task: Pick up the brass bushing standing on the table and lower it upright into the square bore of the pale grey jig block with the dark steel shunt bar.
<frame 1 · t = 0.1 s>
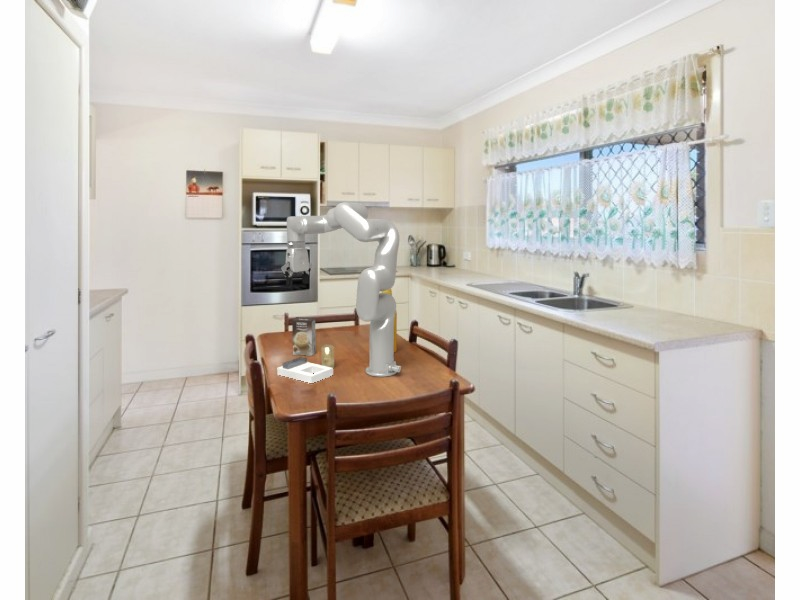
hand: (297, 284, 210), 31 cm above the table, tool pointing down, fingers open, 9 cm apart
jig: (305, 375, 187), on the table
coffee box: (304, 354, 215), on the table
bushing: (328, 367, 196), on the table
beer bottle: (386, 351, 220), on the table
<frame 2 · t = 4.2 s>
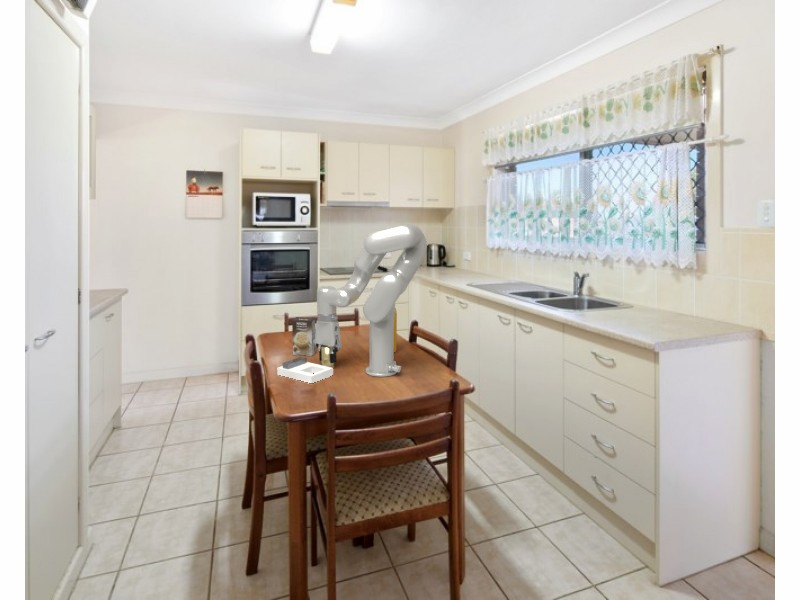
hand: (327, 360, 195), 3 cm above the table, tool pointing down, fingers closed on bushing, 5 cm apart
bushing: (328, 367, 196), on the table, touching gripper
everything else where it was.
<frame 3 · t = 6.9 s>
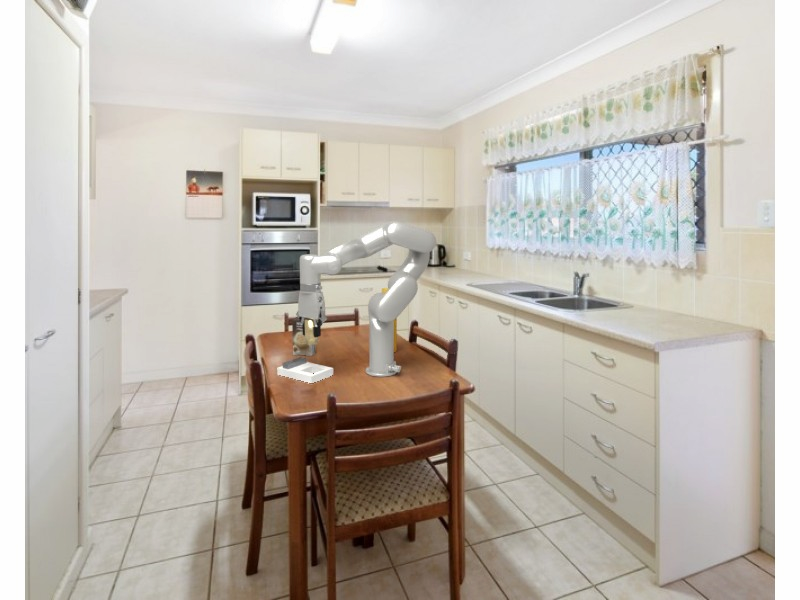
hand: (311, 335, 181), 17 cm above the table, tool pointing down, fingers closed on bushing, 5 cm apart
bushing: (311, 342, 182), point 14 cm above the table, touching gripper
everything else where it was.
when the fingers open (4 cm above the table, at t = 9.8 s): bushing drops 1 cm, resting in jig.
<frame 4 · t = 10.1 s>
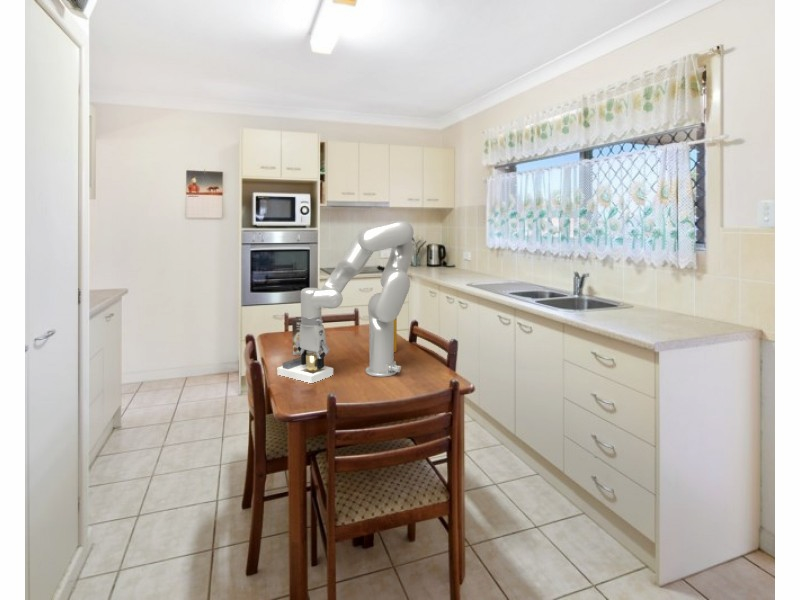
hand: (312, 365, 184), 5 cm above the table, tool pointing down, fingers open, 7 cm apart
bushing: (313, 377, 184), resting in jig
everything else where it was.
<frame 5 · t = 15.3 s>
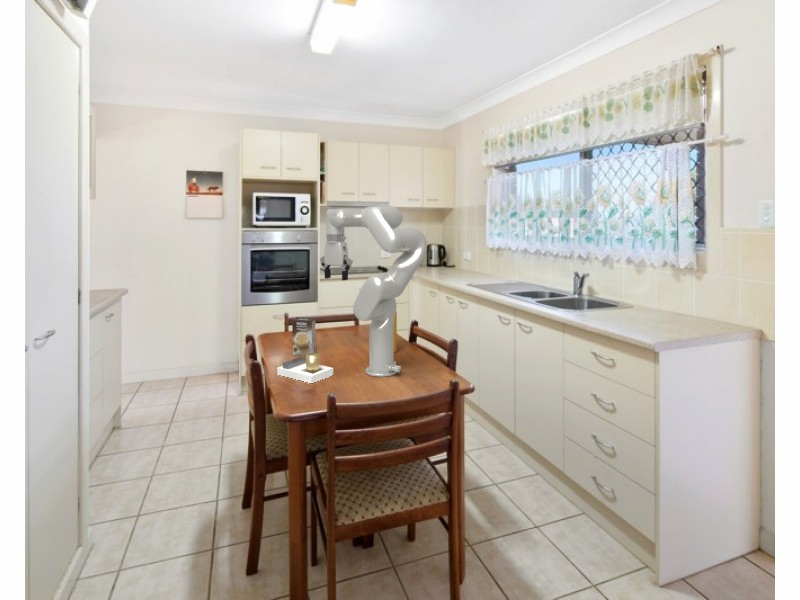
hand: (336, 279, 205), 34 cm above the table, tool pointing down, fingers open, 9 cm apart
nothing on the table moved.
at the end: bushing 0.0 cm from the target spot on the jig, point 0.0 cm above the jig's base; bushing tilted 0°; the gripper is holding nothing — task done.
